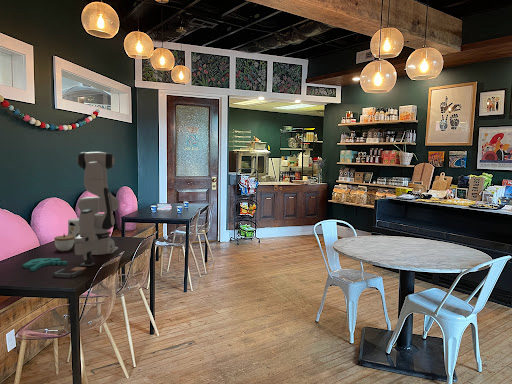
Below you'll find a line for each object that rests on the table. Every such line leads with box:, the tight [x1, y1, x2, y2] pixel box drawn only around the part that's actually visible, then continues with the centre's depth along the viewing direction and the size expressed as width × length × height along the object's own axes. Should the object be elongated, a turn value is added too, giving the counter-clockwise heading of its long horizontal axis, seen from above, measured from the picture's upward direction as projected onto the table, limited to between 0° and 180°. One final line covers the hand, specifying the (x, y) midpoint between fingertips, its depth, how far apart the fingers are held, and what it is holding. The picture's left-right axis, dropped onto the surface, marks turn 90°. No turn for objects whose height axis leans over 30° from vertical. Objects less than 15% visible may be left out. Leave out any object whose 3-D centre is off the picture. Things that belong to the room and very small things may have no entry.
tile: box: [70, 266, 87, 272], centre depth 220 cm, size 6×6×1 cm
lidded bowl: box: [53, 233, 75, 252], centre depth 267 cm, size 13×13×11 cm
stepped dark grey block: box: [80, 252, 96, 267], centre depth 228 cm, size 4×7×8 cm, turn 83°
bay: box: [52, 268, 83, 279], centre depth 209 cm, size 9×11×2 cm
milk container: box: [67, 217, 80, 245], centre depth 290 cm, size 17×17×18 cm
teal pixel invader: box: [22, 257, 69, 272], centre depth 229 cm, size 20×2×20 cm
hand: (87, 259), depth 228 cm, fingers closed on stepped dark grey block, 2 cm apart
